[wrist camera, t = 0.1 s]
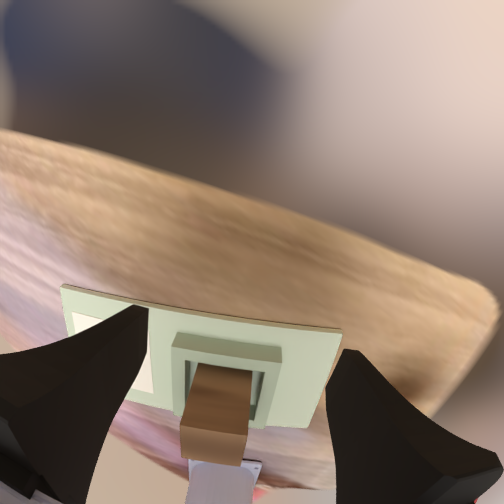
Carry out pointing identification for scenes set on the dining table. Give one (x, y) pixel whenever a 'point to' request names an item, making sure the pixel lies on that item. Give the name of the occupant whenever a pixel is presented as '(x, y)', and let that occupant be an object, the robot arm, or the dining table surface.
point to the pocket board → (219, 355)
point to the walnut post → (216, 415)
